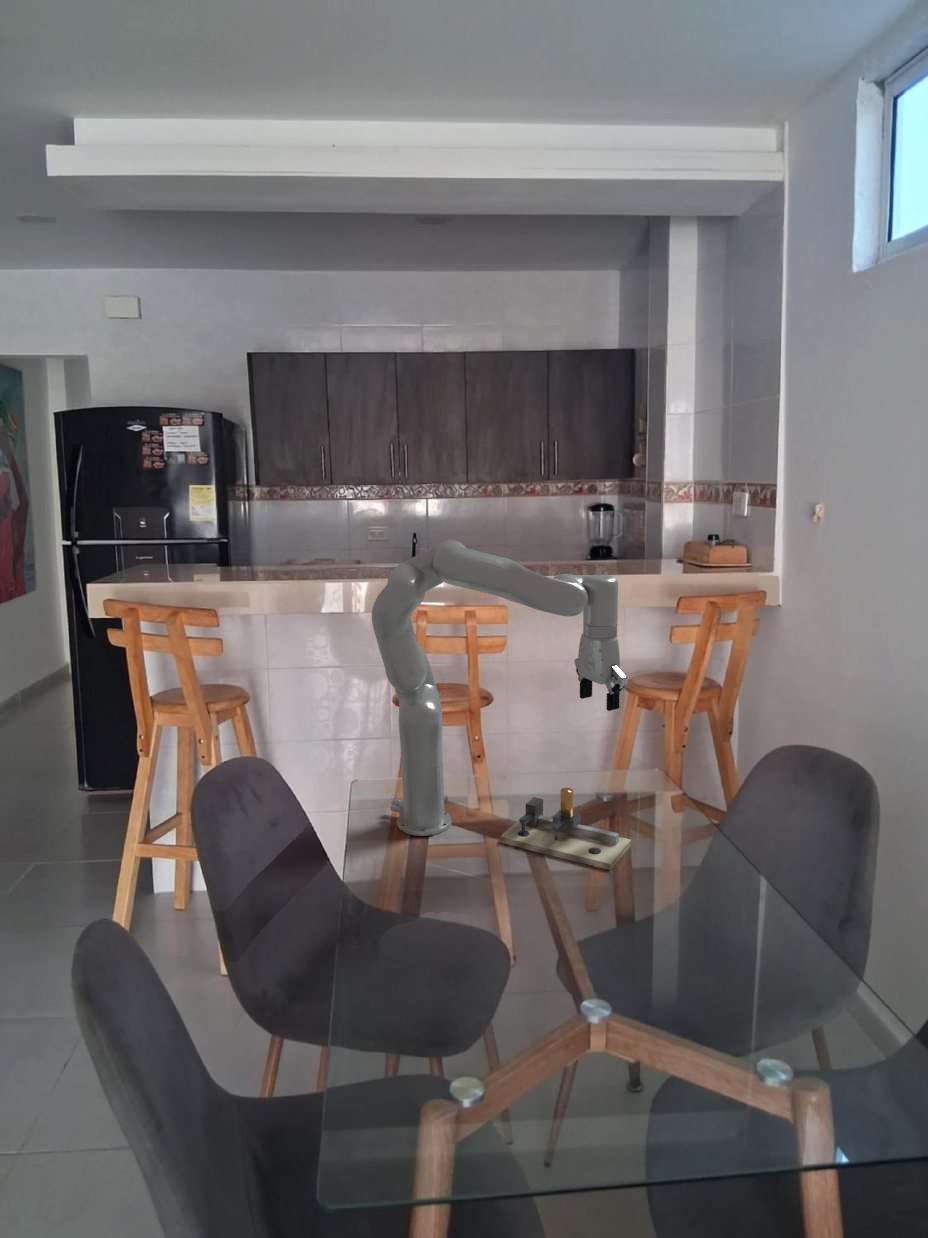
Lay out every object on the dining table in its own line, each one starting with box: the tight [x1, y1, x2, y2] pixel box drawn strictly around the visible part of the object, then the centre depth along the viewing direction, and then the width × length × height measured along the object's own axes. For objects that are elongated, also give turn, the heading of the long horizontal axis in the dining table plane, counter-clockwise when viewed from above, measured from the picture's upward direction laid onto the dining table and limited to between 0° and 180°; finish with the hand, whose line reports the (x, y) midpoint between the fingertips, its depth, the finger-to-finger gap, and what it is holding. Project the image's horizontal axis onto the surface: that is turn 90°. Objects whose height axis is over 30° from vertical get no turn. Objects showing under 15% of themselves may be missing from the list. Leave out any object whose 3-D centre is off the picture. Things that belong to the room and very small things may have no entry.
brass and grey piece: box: [552, 787, 582, 840], centre depth 208 cm, size 5×8×9 cm, turn 150°
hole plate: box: [499, 796, 632, 871], centre depth 208 cm, size 26×12×7 cm, turn 60°
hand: (599, 703), depth 215 cm, fingers open, 9 cm apart
